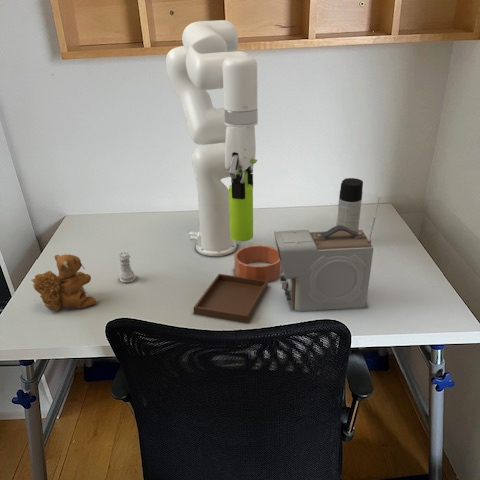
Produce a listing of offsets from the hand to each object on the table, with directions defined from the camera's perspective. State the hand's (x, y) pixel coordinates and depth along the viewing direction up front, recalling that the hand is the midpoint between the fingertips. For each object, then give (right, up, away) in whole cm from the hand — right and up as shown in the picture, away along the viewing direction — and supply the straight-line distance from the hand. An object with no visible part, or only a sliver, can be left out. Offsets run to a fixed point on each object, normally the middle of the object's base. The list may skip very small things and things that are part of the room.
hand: (242, 193), depth 131 cm
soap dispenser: (0, -10, +6) cm, 12 cm away
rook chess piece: (-32, -20, +20) cm, 43 cm away
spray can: (+32, -7, +36) cm, 49 cm away
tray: (-3, -26, +9) cm, 28 cm away
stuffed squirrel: (-46, -27, +10) cm, 54 cm away
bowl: (+5, -17, +22) cm, 29 cm away
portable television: (+20, -26, +9) cm, 34 cm away
